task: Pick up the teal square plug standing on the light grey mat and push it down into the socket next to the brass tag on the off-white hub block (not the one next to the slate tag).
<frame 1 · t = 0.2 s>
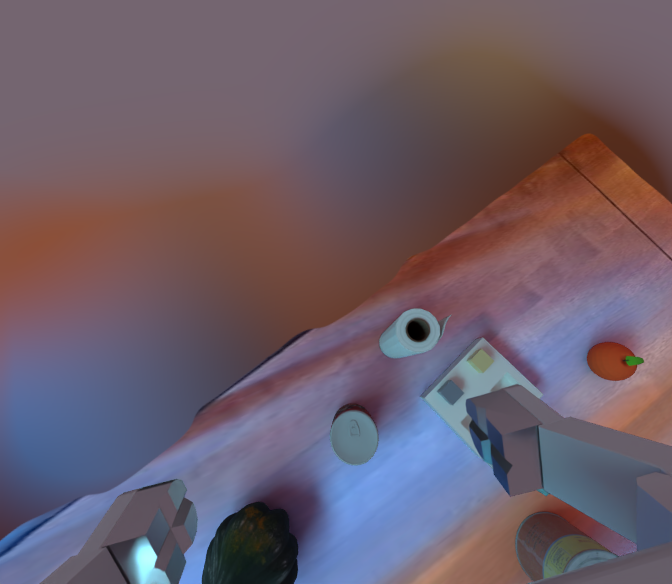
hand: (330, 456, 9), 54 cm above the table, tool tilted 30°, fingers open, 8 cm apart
canned food 2: (548, 548, 54), on the table
clementine: (598, 361, 61), on the table
squash: (262, 541, 55), on the table
canned food: (352, 425, 59), on the table
hub block: (475, 394, 60), on the table
paper towel roll: (396, 343, 63), on the table
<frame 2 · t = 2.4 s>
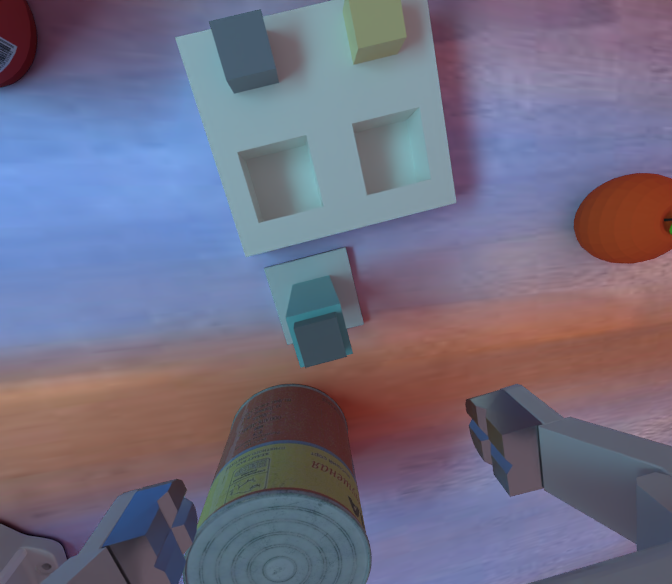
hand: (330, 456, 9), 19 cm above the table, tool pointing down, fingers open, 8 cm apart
canned food 2: (290, 434, 31), on the table
clementine: (592, 222, 28), on the table
plug: (315, 297, 27), point 1 cm above the table, touching mat
mat: (315, 295, 27), on the table
hub block: (325, 140, 25), on the table
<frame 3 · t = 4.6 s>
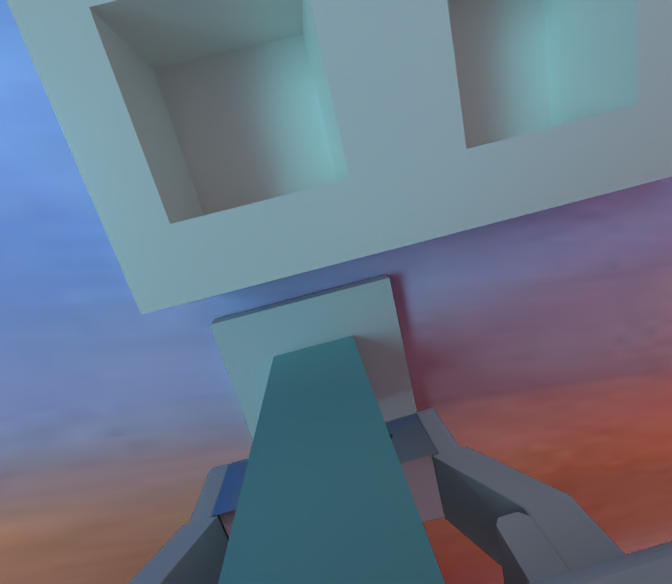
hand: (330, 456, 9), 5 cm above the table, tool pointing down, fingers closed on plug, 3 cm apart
plug: (323, 381, 13), point 1 cm above the table, touching gripper, mat
mat: (322, 373, 13), on the table
hub block: (348, 27, 10), on the table
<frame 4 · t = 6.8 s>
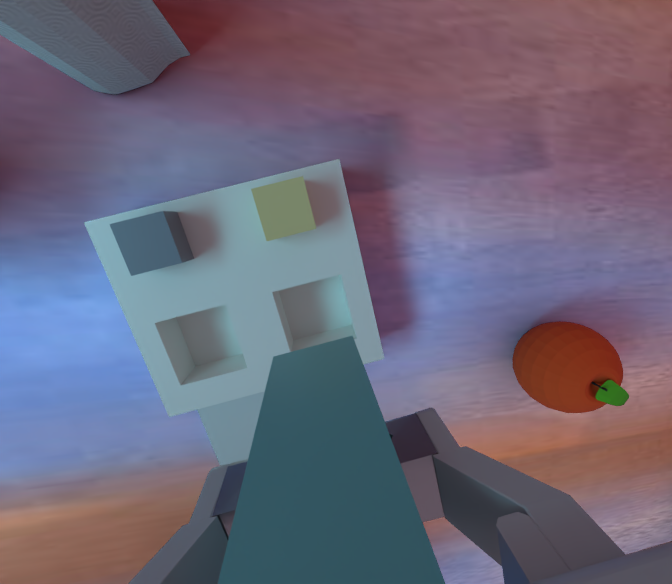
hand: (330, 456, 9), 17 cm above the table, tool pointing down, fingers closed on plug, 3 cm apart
clementine: (535, 349, 28), on the table
plug: (323, 381, 13), point 13 cm above the table, touching gripper
mat: (253, 428, 27), on the table
hub block: (256, 286, 24), on the table
paper towel roll: (117, 52, 20), on the table
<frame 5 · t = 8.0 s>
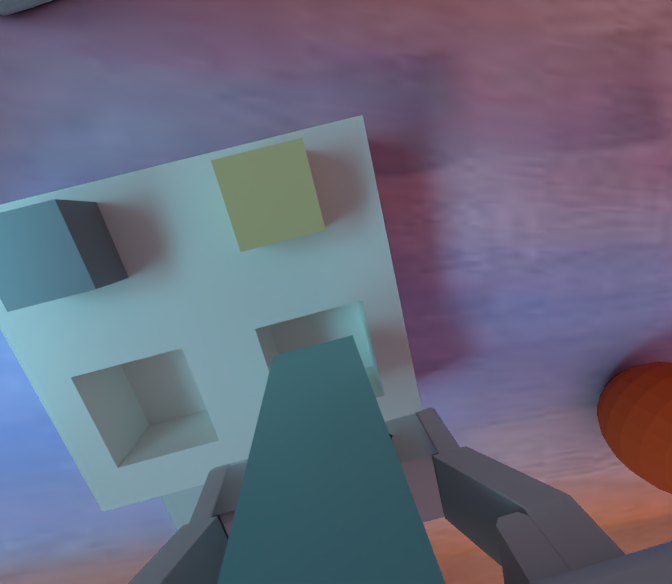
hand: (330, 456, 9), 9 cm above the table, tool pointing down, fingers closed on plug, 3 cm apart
clementine: (621, 393, 21), on the table
plug: (323, 381, 13), point 5 cm above the table, touching gripper
mat: (234, 504, 20), on the table
hub block: (235, 312, 17), on the table
when the fingers open (6 cm above the table, at t = 9.1 s): plug stays where it is, resting on hub block.
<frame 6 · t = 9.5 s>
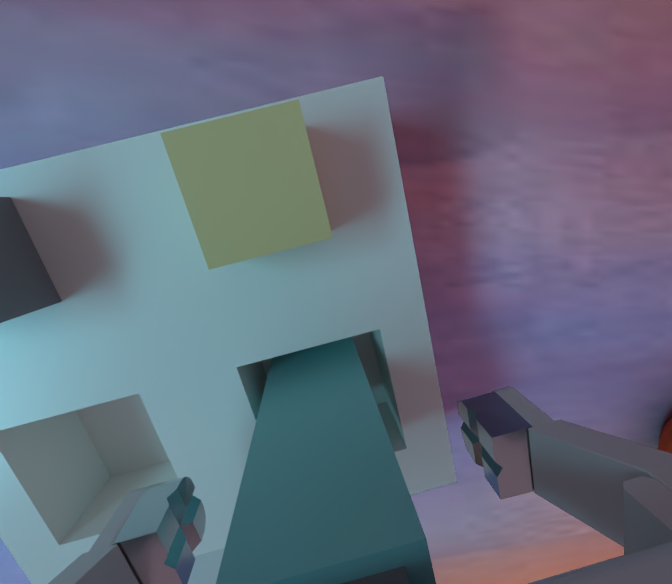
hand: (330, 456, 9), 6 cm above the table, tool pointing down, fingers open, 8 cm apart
plug: (321, 369, 14), resting on hub block
mat: (219, 564, 16), on the table
hub block: (217, 336, 13), on the table
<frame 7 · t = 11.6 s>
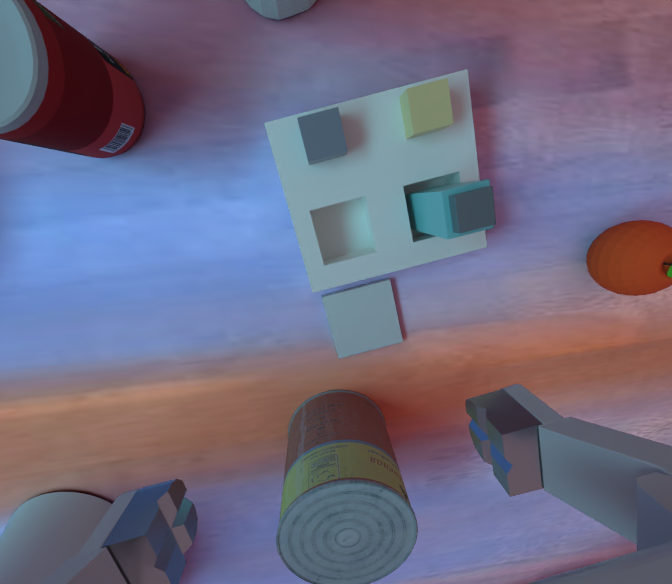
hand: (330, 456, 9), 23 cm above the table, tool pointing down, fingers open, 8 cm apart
canned food 2: (337, 430, 37), on the table
clementine: (603, 254, 33), on the table
plug: (422, 207, 29), resting on hub block
mat: (362, 318, 33), on the table
canned food: (101, 108, 26), on the table
hub block: (375, 191, 29), on the table
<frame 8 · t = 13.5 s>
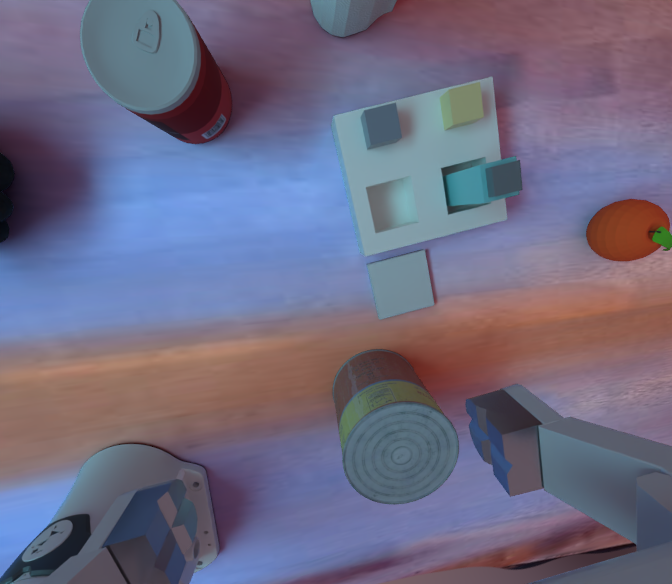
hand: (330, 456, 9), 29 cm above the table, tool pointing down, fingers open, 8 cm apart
canned food 2: (374, 388, 41), on the table
clementine: (599, 231, 39), on the table
plug: (452, 189, 36), resting on hub block
mat: (400, 284, 38), on the table
canned food: (196, 104, 32), on the table
hub block: (414, 175, 35), on the table
paper towel roll: (345, 9, 31), on the table
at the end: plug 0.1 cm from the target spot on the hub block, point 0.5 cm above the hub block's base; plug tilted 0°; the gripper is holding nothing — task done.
